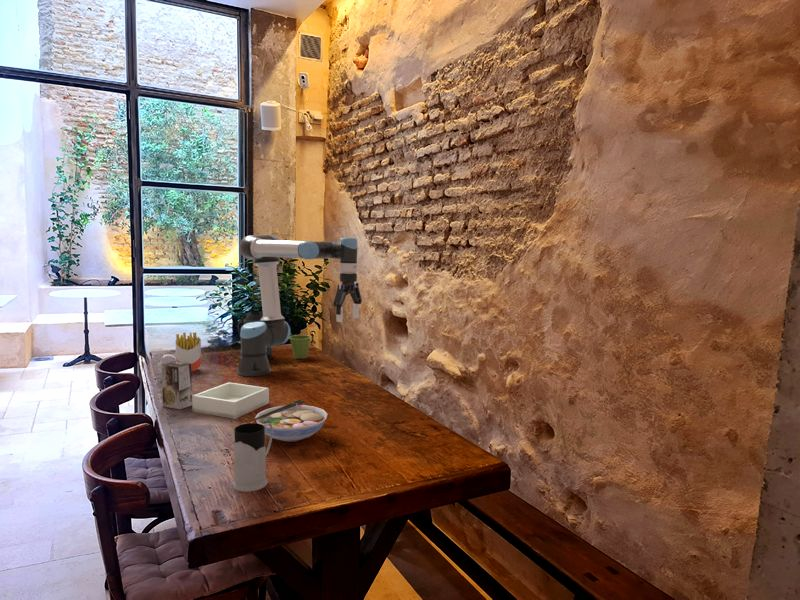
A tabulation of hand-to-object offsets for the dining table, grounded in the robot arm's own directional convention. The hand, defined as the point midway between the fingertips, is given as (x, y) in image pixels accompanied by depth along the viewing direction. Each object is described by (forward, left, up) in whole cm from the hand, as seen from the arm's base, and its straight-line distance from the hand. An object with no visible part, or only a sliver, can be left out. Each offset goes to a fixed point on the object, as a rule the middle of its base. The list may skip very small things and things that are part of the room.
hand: (347, 320), depth 240 cm
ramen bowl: (+17, -71, -28) cm, 78 cm away
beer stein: (-64, +17, -28) cm, 72 cm away
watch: (-72, -34, -28) cm, 84 cm away
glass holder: (+25, -100, -28) cm, 107 cm away
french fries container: (-75, -18, -28) cm, 82 cm away
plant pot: (-43, +29, -28) cm, 59 cm away
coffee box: (-40, -61, -28) cm, 78 cm away
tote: (-21, -54, -27) cm, 64 cm away
